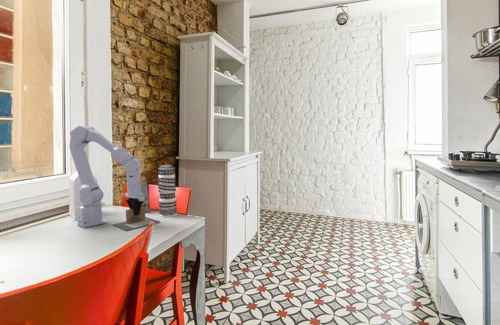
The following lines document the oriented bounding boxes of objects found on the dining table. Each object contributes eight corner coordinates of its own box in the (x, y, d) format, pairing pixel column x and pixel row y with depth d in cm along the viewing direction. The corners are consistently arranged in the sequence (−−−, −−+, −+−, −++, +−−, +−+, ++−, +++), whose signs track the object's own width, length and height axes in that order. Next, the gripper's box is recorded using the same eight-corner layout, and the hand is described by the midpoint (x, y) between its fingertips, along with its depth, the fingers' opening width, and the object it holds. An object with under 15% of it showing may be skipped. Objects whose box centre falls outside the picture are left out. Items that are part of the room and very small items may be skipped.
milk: (69, 215, 149) (65, 164, 147) (94, 211, 156) (91, 162, 154) (74, 219, 140) (71, 165, 138) (100, 215, 148) (97, 164, 145)
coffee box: (150, 210, 156) (149, 180, 154) (140, 213, 150) (138, 182, 149) (139, 208, 160) (138, 179, 159) (129, 211, 155) (127, 181, 154)
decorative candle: (155, 217, 143) (152, 166, 141) (163, 212, 152) (162, 164, 150) (172, 217, 141) (170, 166, 139) (180, 213, 150) (178, 164, 148)
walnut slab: (128, 223, 130) (127, 210, 130) (126, 223, 132) (125, 209, 131) (145, 219, 136) (144, 207, 136) (143, 219, 138) (142, 206, 137)
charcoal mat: (126, 231, 122) (126, 230, 122) (112, 225, 130) (112, 224, 130) (160, 222, 134) (160, 221, 134) (145, 217, 142) (145, 216, 142)
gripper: (150, 185, 130) (151, 215, 132) (134, 182, 140) (135, 210, 141) (135, 187, 125) (136, 218, 126) (119, 184, 135) (121, 213, 136)
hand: (135, 214), depth 133 cm, fingers closed on walnut slab, 2 cm apart
